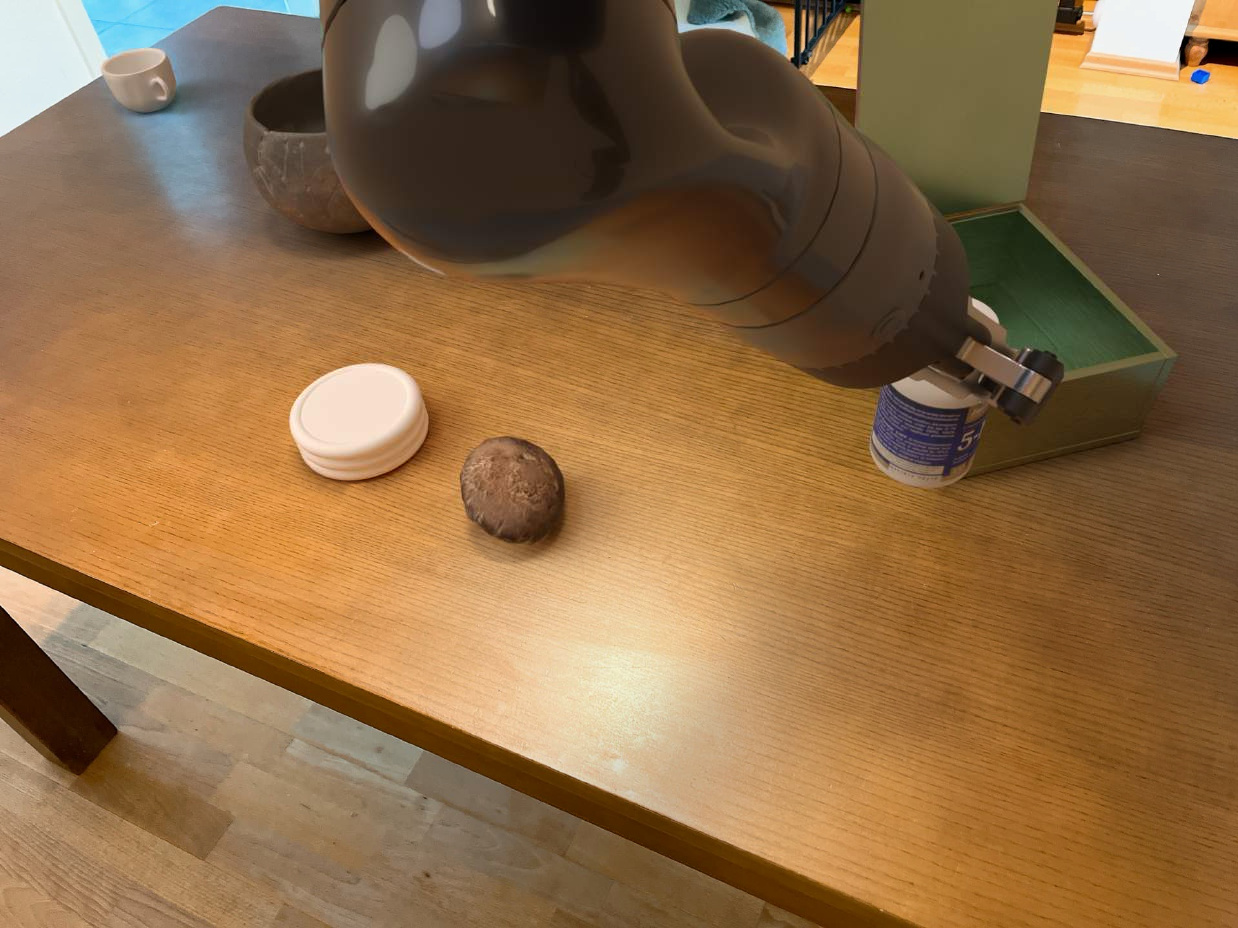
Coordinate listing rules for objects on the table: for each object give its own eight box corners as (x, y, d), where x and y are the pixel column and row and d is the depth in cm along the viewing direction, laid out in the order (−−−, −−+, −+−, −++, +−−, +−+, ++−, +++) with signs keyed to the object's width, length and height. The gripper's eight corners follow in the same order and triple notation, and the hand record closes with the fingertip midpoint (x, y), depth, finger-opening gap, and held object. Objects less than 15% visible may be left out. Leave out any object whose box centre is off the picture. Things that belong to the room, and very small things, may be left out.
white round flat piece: (416, 379, 76) (406, 346, 73) (442, 459, 69) (432, 427, 67) (294, 413, 74) (280, 381, 72) (310, 500, 68) (295, 467, 65)
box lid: (1075, -97, 61) (1038, -103, 64) (868, -64, 59) (841, -72, 63) (1025, 200, 73) (996, 182, 77) (852, 234, 72) (831, 214, 75)
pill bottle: (965, 501, 46) (1009, 367, 40) (860, 478, 48) (885, 345, 41) (977, 429, 49) (1019, 295, 43) (878, 410, 51) (904, 277, 44)
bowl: (291, 285, 86) (242, 161, 77) (261, 195, 98) (214, 78, 89) (471, 231, 90) (445, 108, 81) (422, 151, 102) (393, 35, 93)
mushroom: (415, 493, 63) (455, 441, 59) (491, 456, 69) (533, 407, 65) (486, 585, 62) (532, 539, 58) (557, 539, 68) (603, 494, 64)
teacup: (109, 108, 115) (87, 65, 111) (163, 84, 118) (145, 42, 115) (151, 130, 110) (130, 86, 106) (206, 104, 114) (188, 61, 110)
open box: (1137, 438, 66) (1178, 355, 61) (948, 481, 65) (972, 401, 59) (999, 282, 79) (1022, 203, 74) (839, 315, 78) (850, 236, 72)
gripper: (1082, 245, 27) (1148, 364, 41) (731, 96, 35) (885, 237, 49) (937, 460, 29) (1047, 505, 42) (634, 271, 37) (809, 361, 50)
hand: (960, 362), depth 45 cm, fingers closed on pill bottle, 5 cm apart
